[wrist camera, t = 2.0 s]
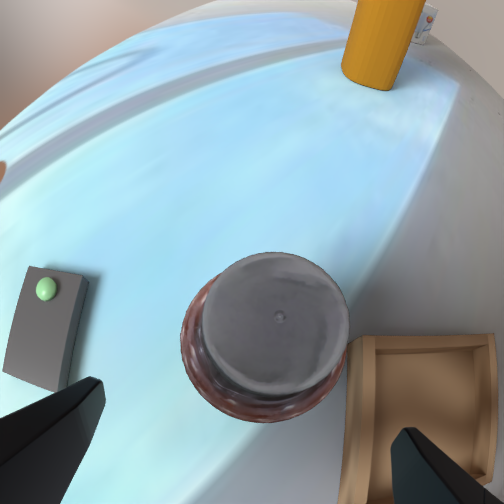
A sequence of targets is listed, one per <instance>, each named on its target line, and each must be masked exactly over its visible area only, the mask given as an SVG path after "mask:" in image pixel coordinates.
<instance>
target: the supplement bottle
mask: <svg viewBox="0 0 504 504" xmlns="http://www.w3.org/2000/svg"><path fill="white" fill-rule="evenodd" d="M349 330H350V322H349V311H348V307H347V305H346V302H345V299H344V296H343V294H342V292H341V290H340V288H339V287H338V285H337V284H336V282H334V281H333V279H332V278H331V277H330V276H329V275H328V274H327V273H326V272H325V271H324V270H323V269H322V268H320V267H319V266H318V265H316V264H314V263H313V262H311V261H309V260H307V259H305V258H303V257H300V256H297V255H294V254H289V253H283V252H265V253H258V254H255V255H250V256H248V257H246V258H243V259H241V260H239V261H237V262H235V263H234V264H232V265H231V266H229V267H228V268H227V269H225V270H224V271H223V272H222V273H220V274H218V275H217V276H216V277H214V278H213V279H211V280H210V281H209V282H208V283H207V284H206V285H205V286H204V287H203V288H202V289H201V290H200V291H199V292H198V294H197V295H196V296H195V297H194V299H193V300H192V302H191V304H190V305H189V308H188V309H187V311H186V315H185V318H184V321H183V324H182V330H181V333H180V341H181V354H182V361H183V363H184V366H185V370H186V373H187V374H188V376H189V379H190V380H191V382H192V384H193V385H194V387H195V388H196V390H197V391H198V392H199V393H200V395H201V396H202V397H203V398H204V399H205V400H207V401H208V402H209V403H210V404H211V405H212V406H214V407H215V408H216V409H218V410H220V411H221V412H223V413H225V414H227V415H229V416H231V417H234V418H237V419H240V420H243V421H248V422H255V423H274V422H279V421H284V420H289V419H291V418H294V417H296V416H299V415H301V414H303V413H305V412H307V411H308V410H310V409H312V408H313V407H315V406H316V405H317V404H318V403H320V402H321V401H322V400H323V399H324V398H325V397H326V396H327V395H328V394H329V392H330V391H331V390H332V388H333V387H334V386H335V384H336V383H337V381H338V379H339V377H340V374H341V372H342V369H343V366H344V363H345V358H346V352H347V342H348V338H349Z"/></svg>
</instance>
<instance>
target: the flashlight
mask: <svg viewBox="0 0 504 504" xmlns="http://www.w3.org/2000/svg"><path fill="white" fill-rule="evenodd" d="M425 2H426V0H358V4H357V8H356V11H355V15H354V19H353V23H352V26H351V30H350V34H349V37H348V41H347V44H346V48H345V51H344V55H343V59H342V63H341V68H342V71H343V73H344V75H345V76H346V77H347V78H349V79H350V80H352V81H354V82H356V83H358V84H361V85H364V86H367V87H371V88H375V89H379V90H385V91H386V90H390V89H391V88H392V86H393V84H394V81H395V79H396V77H397V74H398V72H399V70H400V67H401V65H402V62H403V60H404V57H405V55H406V52H407V50H408V47H409V45H410V42H411V39H412V37H413V34H414V32H415V29H416V26H417V24H418V21H419V18H420V16H421V13H422V10H423V7H424V4H425Z"/></svg>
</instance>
